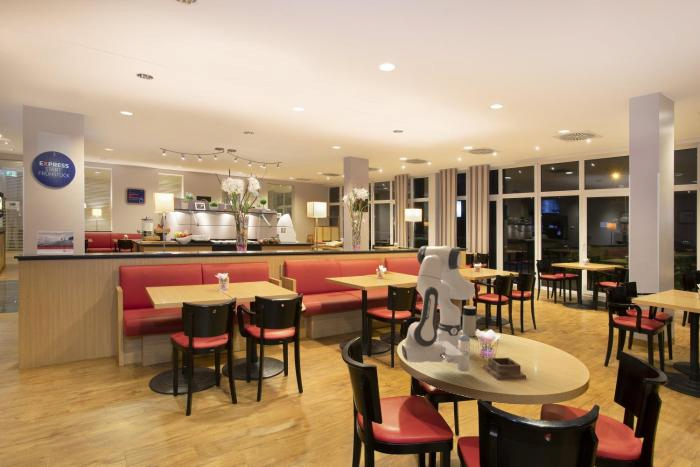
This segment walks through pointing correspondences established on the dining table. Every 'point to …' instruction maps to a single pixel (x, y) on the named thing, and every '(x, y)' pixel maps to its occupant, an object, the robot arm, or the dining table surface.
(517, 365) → the cradle
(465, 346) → the white bottle
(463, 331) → the travel mug
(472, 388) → the dining table surface
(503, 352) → the dining table surface
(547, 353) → the dining table surface
